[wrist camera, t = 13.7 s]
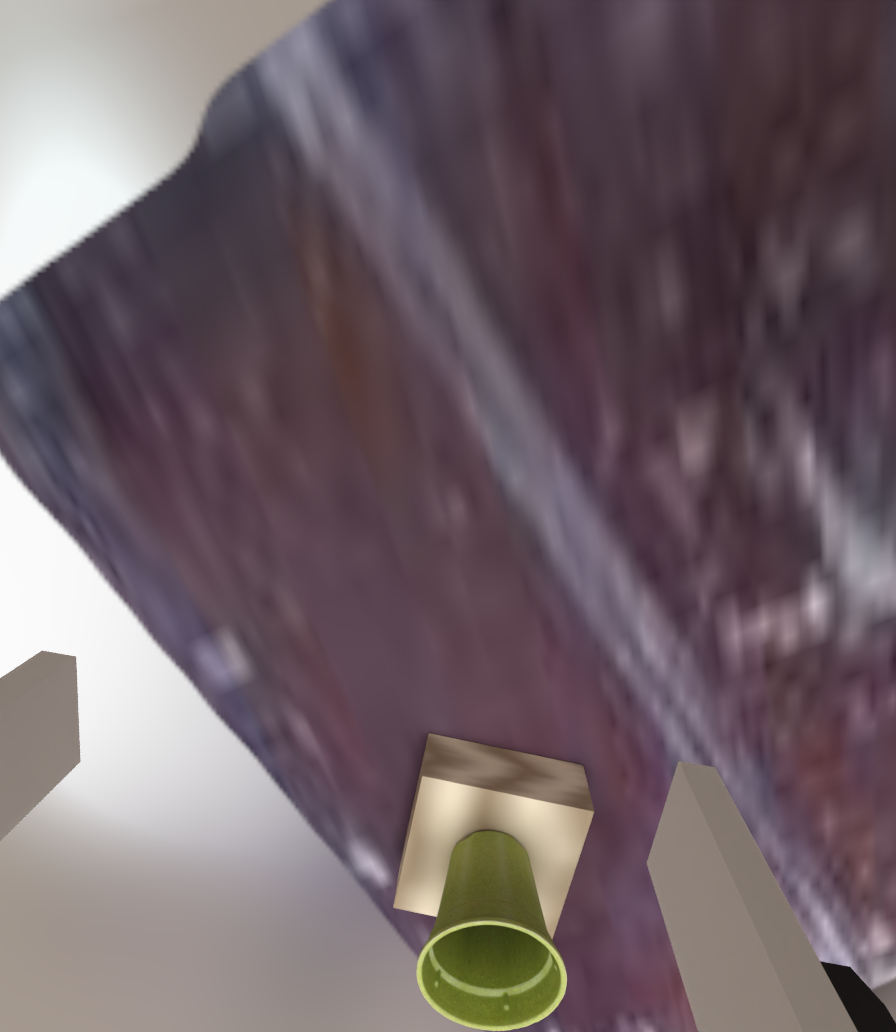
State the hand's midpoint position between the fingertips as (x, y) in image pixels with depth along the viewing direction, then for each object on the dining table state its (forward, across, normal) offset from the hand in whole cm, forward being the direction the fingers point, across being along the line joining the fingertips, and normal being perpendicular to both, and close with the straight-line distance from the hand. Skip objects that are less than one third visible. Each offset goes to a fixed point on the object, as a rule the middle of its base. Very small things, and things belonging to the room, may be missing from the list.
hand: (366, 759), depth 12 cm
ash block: (+30, +7, -28) cm, 42 cm away
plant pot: (+25, +7, -28) cm, 39 cm away
